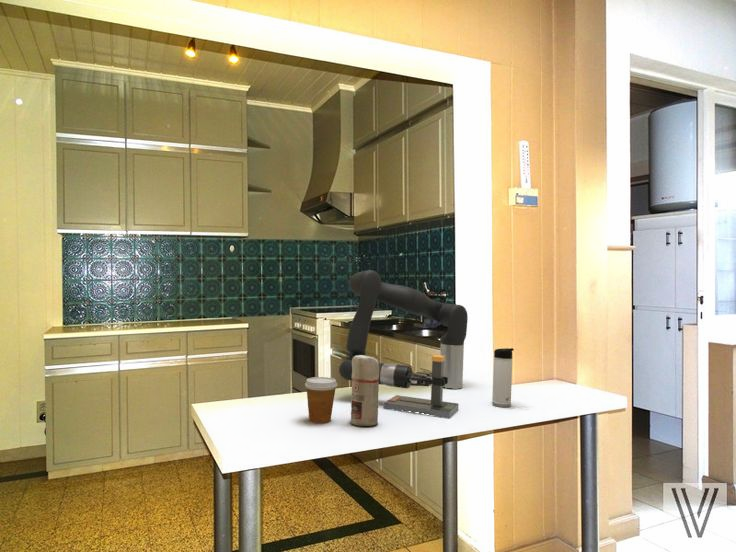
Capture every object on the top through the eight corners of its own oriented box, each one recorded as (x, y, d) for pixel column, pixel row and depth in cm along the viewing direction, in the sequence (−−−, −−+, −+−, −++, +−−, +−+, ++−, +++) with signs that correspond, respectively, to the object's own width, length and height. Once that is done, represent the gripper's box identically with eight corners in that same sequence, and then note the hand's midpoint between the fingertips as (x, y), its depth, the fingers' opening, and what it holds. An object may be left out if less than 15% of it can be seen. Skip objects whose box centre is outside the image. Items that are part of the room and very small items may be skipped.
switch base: (383, 408, 161) (383, 401, 161) (396, 400, 172) (396, 394, 172) (449, 418, 153) (449, 411, 153) (458, 409, 164) (458, 403, 164)
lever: (430, 404, 160) (431, 356, 160) (432, 401, 163) (434, 354, 163) (440, 405, 158) (441, 357, 158) (443, 403, 161) (444, 355, 161)
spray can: (345, 420, 147) (348, 353, 147) (371, 418, 150) (373, 352, 150) (355, 428, 139) (357, 358, 139) (382, 426, 142) (384, 357, 142)
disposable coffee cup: (297, 419, 146) (298, 379, 146) (322, 414, 152) (323, 375, 152) (317, 427, 139) (318, 384, 139) (342, 421, 146) (344, 380, 146)
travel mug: (512, 408, 168) (514, 349, 168) (492, 406, 169) (494, 348, 169) (511, 404, 174) (513, 347, 174) (491, 402, 175) (493, 346, 175)
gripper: (389, 367, 160) (440, 373, 153) (403, 361, 173) (452, 366, 166) (388, 390, 160) (440, 397, 153) (402, 383, 173) (451, 389, 166)
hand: (445, 381), depth 159 cm, fingers closed on lever, 3 cm apart
